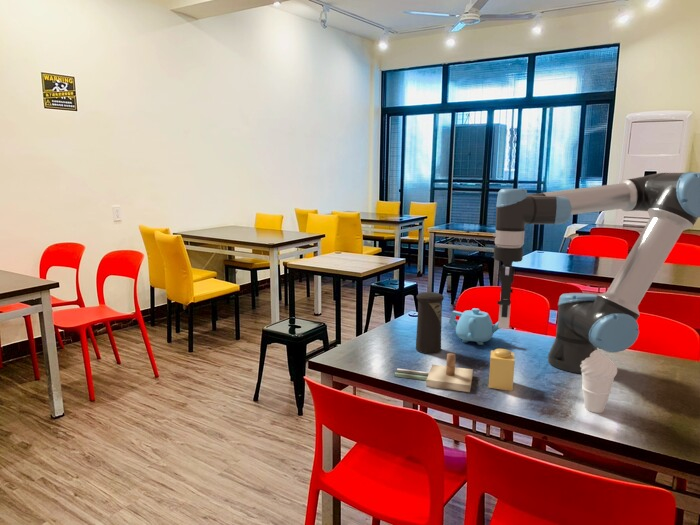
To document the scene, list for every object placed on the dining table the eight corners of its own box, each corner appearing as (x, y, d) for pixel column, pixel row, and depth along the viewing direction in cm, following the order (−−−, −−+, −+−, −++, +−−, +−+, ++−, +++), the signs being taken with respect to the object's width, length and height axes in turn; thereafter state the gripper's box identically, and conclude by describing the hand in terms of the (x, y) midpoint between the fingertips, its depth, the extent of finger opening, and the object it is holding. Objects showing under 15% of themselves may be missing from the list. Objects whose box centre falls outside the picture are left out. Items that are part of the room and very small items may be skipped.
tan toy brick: (512, 381, 140) (514, 348, 138) (512, 390, 134) (514, 356, 132) (489, 378, 142) (491, 346, 140) (488, 387, 136) (490, 353, 134)
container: (441, 355, 161) (443, 296, 157) (413, 353, 163) (415, 295, 159) (441, 346, 169) (444, 291, 166) (415, 344, 171) (417, 289, 168)
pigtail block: (472, 375, 144) (474, 350, 143) (469, 392, 133) (471, 364, 132) (399, 366, 151) (400, 341, 149) (391, 381, 139) (392, 355, 138)
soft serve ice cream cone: (601, 401, 128) (607, 344, 125) (619, 417, 120) (626, 355, 117) (570, 402, 128) (575, 344, 125) (586, 417, 119) (592, 355, 117)
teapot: (442, 343, 173) (444, 311, 171) (454, 330, 188) (455, 300, 186) (500, 352, 165) (502, 318, 163) (507, 338, 180) (509, 307, 178)
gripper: (495, 240, 144) (491, 309, 148) (492, 251, 121) (487, 332, 125) (522, 241, 142) (517, 311, 146) (524, 253, 119) (518, 336, 122)
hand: (503, 321), depth 135 cm, fingers open, 13 cm apart
